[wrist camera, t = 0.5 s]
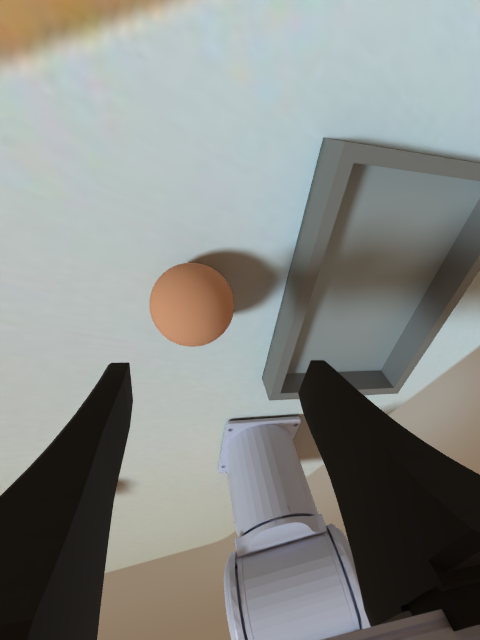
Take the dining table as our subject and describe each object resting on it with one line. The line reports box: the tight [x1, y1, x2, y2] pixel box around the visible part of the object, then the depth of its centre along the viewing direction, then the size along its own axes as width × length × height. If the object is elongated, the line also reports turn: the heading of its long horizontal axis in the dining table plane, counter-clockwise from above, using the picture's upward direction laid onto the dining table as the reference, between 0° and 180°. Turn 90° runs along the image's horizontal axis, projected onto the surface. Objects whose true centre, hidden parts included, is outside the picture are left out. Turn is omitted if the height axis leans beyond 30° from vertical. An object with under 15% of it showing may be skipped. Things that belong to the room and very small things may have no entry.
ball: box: [150, 263, 234, 346], centre depth 17 cm, size 5×5×5 cm
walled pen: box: [262, 138, 480, 400], centre depth 21 cm, size 19×13×2 cm
